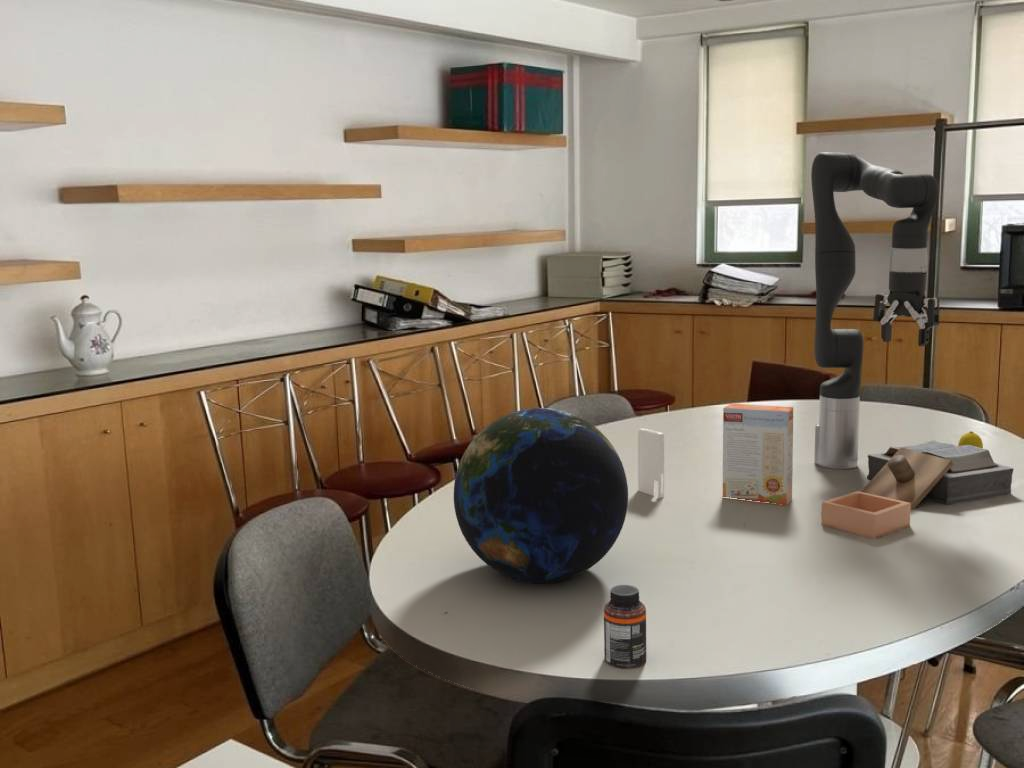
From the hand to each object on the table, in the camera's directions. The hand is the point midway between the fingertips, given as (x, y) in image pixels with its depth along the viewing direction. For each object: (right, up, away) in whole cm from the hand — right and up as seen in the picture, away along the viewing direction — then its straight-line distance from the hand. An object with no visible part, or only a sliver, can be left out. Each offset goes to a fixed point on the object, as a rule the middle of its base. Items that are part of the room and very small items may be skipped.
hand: (904, 343), depth 228 cm
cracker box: (-32, -34, 0) cm, 47 cm away
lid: (0, -29, -2) cm, 29 cm away
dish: (-15, -37, -20) cm, 45 cm away
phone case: (-55, -34, +4) cm, 64 cm away
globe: (-80, -43, -44) cm, 101 cm away
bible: (+10, -32, +8) cm, 35 cm away
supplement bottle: (-69, -49, -79) cm, 116 cm away
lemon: (+26, -28, +27) cm, 47 cm away
